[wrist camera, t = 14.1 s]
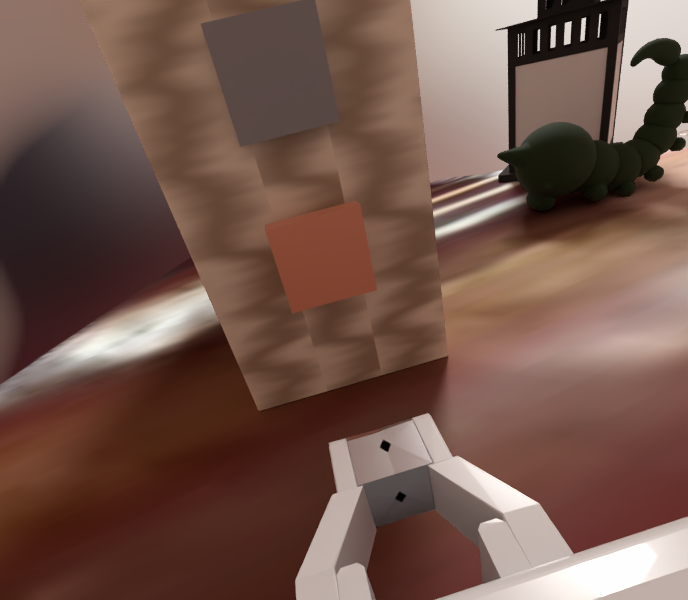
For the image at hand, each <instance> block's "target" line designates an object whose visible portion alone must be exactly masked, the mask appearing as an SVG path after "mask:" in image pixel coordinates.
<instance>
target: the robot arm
mask: <svg viewBox="0 0 688 600" xmlns="http://www.w3.org/2000/svg"><path fill="white" fill-rule="evenodd" d="M329 451H330V456H331V462H332V467H333V473H334V479H335V484H336V490H337V493H336V494H333V495H332V496H331V498H330V501H329V503H328V505H327V508H326V510H325V512H324V515H323V517H322V519H321V522H320V524H319V526H318V529H317V531H316V533H315V536H314V538H313V540H312V543H311V545H310V547H309V550H308V552H307V554H306V557H305V559H304V561H303V564H302V566H301V568H300V571H299V573H298V575H297V578H296V580H295V585H296V600H376V598H375V595H374V593H373V590H372V587H371V584H370V581H369V578H368V575H367V573H366V572H367V567H368V563H369V559H370V555H371V551H372V547H373V543H374V539H375V535H376V531H377V530H376V528H377V527H380V526H383V525H386V524H389V523H392V522H395V521H398V520H400V519H403V518H405V517H410V516H413V515H417V514H421V513H424V512H428V511H431V510H435V509H436V511H437V512H438V513H439V514H440V515H441V516H442V517H444V518H445V519H446V520H447V521H448V522H449V523H451V524H452V525H453V526H454V527H455V528H456V529H458V530H459V531H460V532H461V533H462V534H463V535H465V536H466V537H467V538H468V539H469V540H471V541H472V542H473V543H474V544H475V545H476V546H478V547H479V548H480V559H481V571H482V583H483V584H481V585H478V586H475V587H472V588H469V589H466V590H463V591H460V592H457V593H454V594H451V595H448V596H445V597H442V598H438V599H435V600H688V517H685V518H682V519H679V520H676V521H673V522H670V523H667V524H664V525H661V526H658V527H655V528H652V529H649V530H646V531H643V532H639V533H636V534H633V535H630V536H627V537H624V538H621V539H618V540H615V541H612V542H609V543H606V544H603V545H600V546H597V547H594V548H591V549H588V550H585V551H582V552H579V553H576V554H573V552H572V551H571V549H570V548H569V547H568V545H567V544H566V542H565V541H564V539H563V538H562V536H561V535H560V533H559V532H558V530H557V529H556V527H555V526H554V525H553V523H552V522H551V520H550V519H549V517H548V516H547V514H546V513H545V511H544V510H543V508H542V507H541V506H540V504H539V503H538V502H536V501H534V500H532V499H531V498H529V497H527V496H526V495H524V494H522V493H520V492H519V491H517V490H515V489H514V488H512V487H510V486H509V485H507V484H505V483H503V482H502V481H500V480H498V479H497V478H495V477H493V476H492V475H490V474H488V473H486V472H485V471H483V470H481V469H480V468H478V467H476V466H474V465H473V464H471V463H469V462H468V461H466V460H464V459H463V458H461V457H459V456H456V457H453V456H452V454H451V453H450V451H449V449H448V447H447V445H446V443H445V441H444V439H443V438H442V436H441V434H440V432H439V430H438V428H437V426H436V424H435V423H434V421H433V419H432V417H431V415H430V414H428V413H427V414H424V415H420V416H417V417H414V418H412V419H411V418H410V419H407V420H404V421H401V422H397V423H394V424H391V425H388V426H385V427H382V428H379V429H376V430H373V431H369V432H365V433H362V434H358V435H354V436H351V437H347V438H344V439H341V440H337V441H334V442H330V443H329Z"/></svg>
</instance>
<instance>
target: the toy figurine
mask: <svg viewBox="0 0 688 600" xmlns="http://www.w3.org/2000/svg"><path fill="white" fill-rule="evenodd" d="M680 53H681V47H680V45H679V43H678V42H676V41H675V40H671V39H668V38H661V39H656V40H653V41H651V42H648V43H647V44H645V45H644V46H643V47H642V48H640V49H639V50H638V51H637V53H636V54H635V55H634V57H633V58H632V60H631V64H630V65H631V66H632V67H634V66H636V65H637V64H639V63H640V62H641V61H642V60H644V59H646V58H651V59H652V60H654V61H655V62H656V63H658V64H660V65H663V66H664V69H663V71H662V81H661V82H660V83H659V84H658V86H657V87H656V88H655V91H654V93H653V101H654V104H653V105H652V106H651V107H650V108H649V109H648V110H647V112H646V114H645V116H644V125H643V126H641V127H640V128H639V129H638V130H637V132H636V133H635V135H634V137H633V139H632V140H630V141H628V142H626V143H615V144H609V143H607V142H604V141H601V140H593V139H592V137H591V136H590V134H589V133H588V132H587V131H586V130H584V129H583V128H582V127H580V126H578V125H575V124H572V123H568V122H554V123H549V124H547V125H544V126H542V127H540V128H538V129H536V130H535V131H533V132H532V133H531V134H530V135H529V136H528V137H527V138H526V139H525V140H524V141H523V142H522V144H521V146H520V147H517V148H513V149H510V150H507V151H504V152H501V153H499V154H498V156H497V157H498V158H499V159H501V160H502V161H504V162H506V163H508V164H510V165H512V166H514V167H515V173H516V177H517V180H518V181H519V183H520V184H521V186H522V187H523V188H524V189H525V190H527V191H528V192H529V193H528V195H527V198H526V199H527V203H528V205H529V206H530V207H531V208H533V209H535V210H538V211H547V210H549V209H551V208H552V207H553V206H554V204H555V201H556V197H559V196H562V195H565V194H568V193H571V194H572V193H574V192H578V193H585V197H586V198H588V199H589V200H591V201H598V200H601V199H603V198H604V197H605V196H606V194H607V191H614V190H617V191H618V193H619V195H621V196H628V195H631V194H632V193H634V191H635V189H636V185H635V183H634V180H635V179H636V178H637V177H641V176H643V175H644V178H645V179H646V180H648V181H656V180H658V179H660V178H661V177H662V176H663V174H664V169H663V168H662V167H660V166H657V163H658V161H659V159H660V155H661V154H663V153H665V152H667V151H668V150H669V149H670V150H671V151H680V150H682V149H683V148H684V147H685V144H686V141H685V139H683V138H682V137H681V138H679V137H678V138H677V131H676V128H677V127H678V126H679V125H680V124H681V122H682V123H688V111H686V107H685V105H684V103H685V102H686V101H687V100H688V54H683V55H680Z"/></svg>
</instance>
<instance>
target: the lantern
mask: <svg viewBox="0 0 688 600" xmlns="http://www.w3.org/2000/svg"><path fill="white" fill-rule="evenodd" d="M561 2H562V5H561ZM627 10H628V0H604V1H601V2H600V0H538V18H537V19H534V20H530V21H527V22H523V23H520V24H516V25H513V26H508V27H505V28H501V29H497V30H502V29H508V105H509V106H508V108H509V110H508V111H509V150H510V149H513V148H517V147H520V146H521V144H522V142H523V141H524V140H525V139H526V138H527V137H528V136H529V135H530V134H531V133H532V132H533V131H535V130H536V129H538V128H540V127H542V126H544V125H547V124H549V123H554V122H568V123H572V124H575V125H578V126H580V127H582V128H583V129H584V130H586V131H587V132H588V133H589V134H590V136H591V137H592V139H593V140H601V141H604V142H607V143H609V144H615V143H613V136H614V127H615V118H616V109H617V100H618V91H619V81H620V73H621V64H622V55H623V46H624V37H625V28H626V19H627ZM599 14H601V23H600V35H599V38H597V36H598V25H599ZM585 17H586V29H585V41H581V42H580V35H581V20H582V18H585ZM570 21H572V27H571V44H567V45H564V28H565V27H564V26H565V22H570ZM554 25H556V46H555V47H554V48H550V39H551V26H554ZM539 29H540V51H537V40H538V30H539ZM521 33H522V56H521ZM524 33H525V55H524ZM518 34H519V57H518ZM617 143H623V142H617ZM505 181H518V180H517V177H516V173H515V167H514V166H512V165H510V164H509V165H508V166H507V167H506V168H505V169H504V170H503V171H502V172H501V173H500V175H499V182H505Z"/></svg>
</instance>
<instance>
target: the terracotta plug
mask: <svg viewBox="0 0 688 600" xmlns="http://www.w3.org/2000/svg"><path fill="white" fill-rule="evenodd" d="M265 232H266V235H267V238H268V241H269V244H270V247H271V250H272V253H273V256H274V259H275V262H276V265H277V268H278V271H279V274H280V278H281V281H282V284H283V287H284V290H285V293H286V296H287V299H288V302H289V305H290V308H291V311H292V314H293V313H296V312H300V311H303V310H307V309H311V308H314V307H318V306H321V305H325V304H329V303H332V302H336V301H339V300H343V299H347V298H350V297H354V296H357V295H361V294H364V293H368V292H372V291H375V290H377V287H376V282H375V277H374V272H373V267H372V262H371V257H370V252H369V247H368V241H367V236H366V231H365V226H364V221H363V216H362V211H361V206H360V204H359V203H358V202H357V201H352V202H349V203H345V204H341V205H337V206H333V207H330V208H326V209H322V210H318V211H315V212H311V213H307V214H303V215H299V216H296V217H292V218H288V219H284V220H280V221H277V222H273V223H269V224H265Z"/></svg>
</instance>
